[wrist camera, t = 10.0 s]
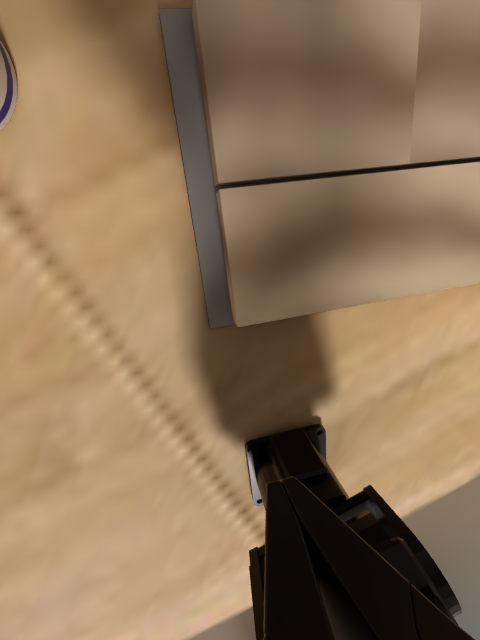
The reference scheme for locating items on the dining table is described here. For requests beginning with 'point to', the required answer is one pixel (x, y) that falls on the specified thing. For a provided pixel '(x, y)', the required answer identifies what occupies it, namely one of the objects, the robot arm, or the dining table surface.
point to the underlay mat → (207, 160)
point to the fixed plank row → (337, 85)
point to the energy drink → (7, 87)
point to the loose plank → (349, 240)
